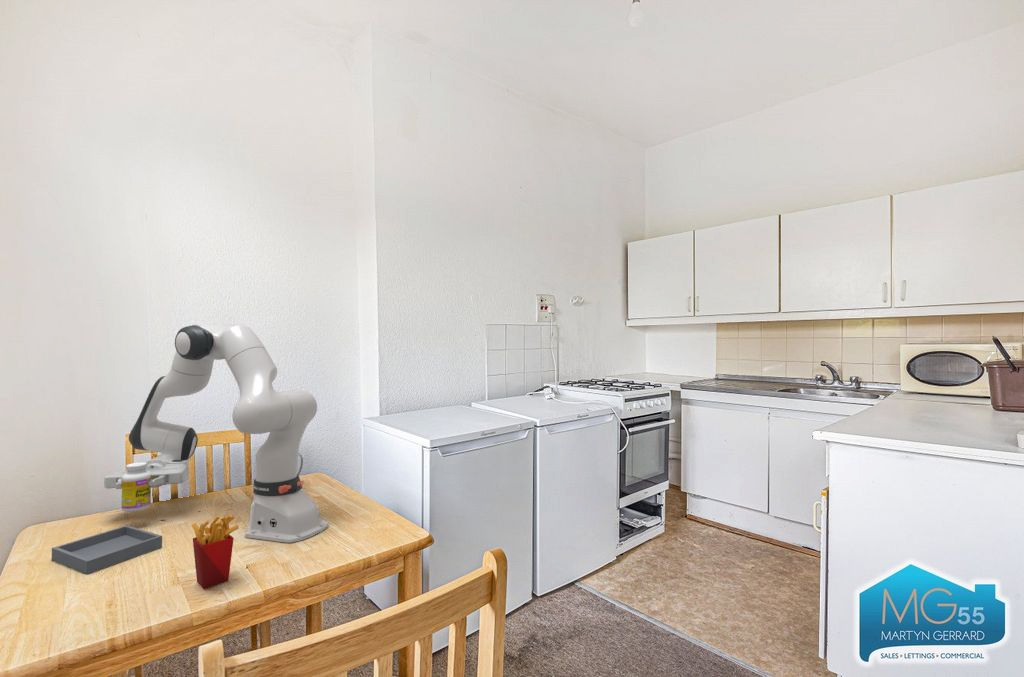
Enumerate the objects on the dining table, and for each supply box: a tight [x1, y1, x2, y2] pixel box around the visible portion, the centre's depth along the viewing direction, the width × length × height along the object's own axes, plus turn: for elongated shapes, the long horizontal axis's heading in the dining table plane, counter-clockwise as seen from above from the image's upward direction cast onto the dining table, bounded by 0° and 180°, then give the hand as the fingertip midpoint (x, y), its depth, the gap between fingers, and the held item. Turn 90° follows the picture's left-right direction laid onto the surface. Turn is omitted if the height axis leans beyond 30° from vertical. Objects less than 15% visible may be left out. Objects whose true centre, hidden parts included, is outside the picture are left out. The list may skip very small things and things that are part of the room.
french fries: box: [191, 514, 240, 590], centre depth 107 cm, size 9×8×15 cm
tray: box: [51, 524, 163, 575], centre depth 121 cm, size 16×16×3 cm
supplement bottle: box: [121, 461, 152, 513], centre depth 138 cm, size 7×7×13 cm
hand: (135, 485), depth 137 cm, fingers closed on supplement bottle, 7 cm apart
